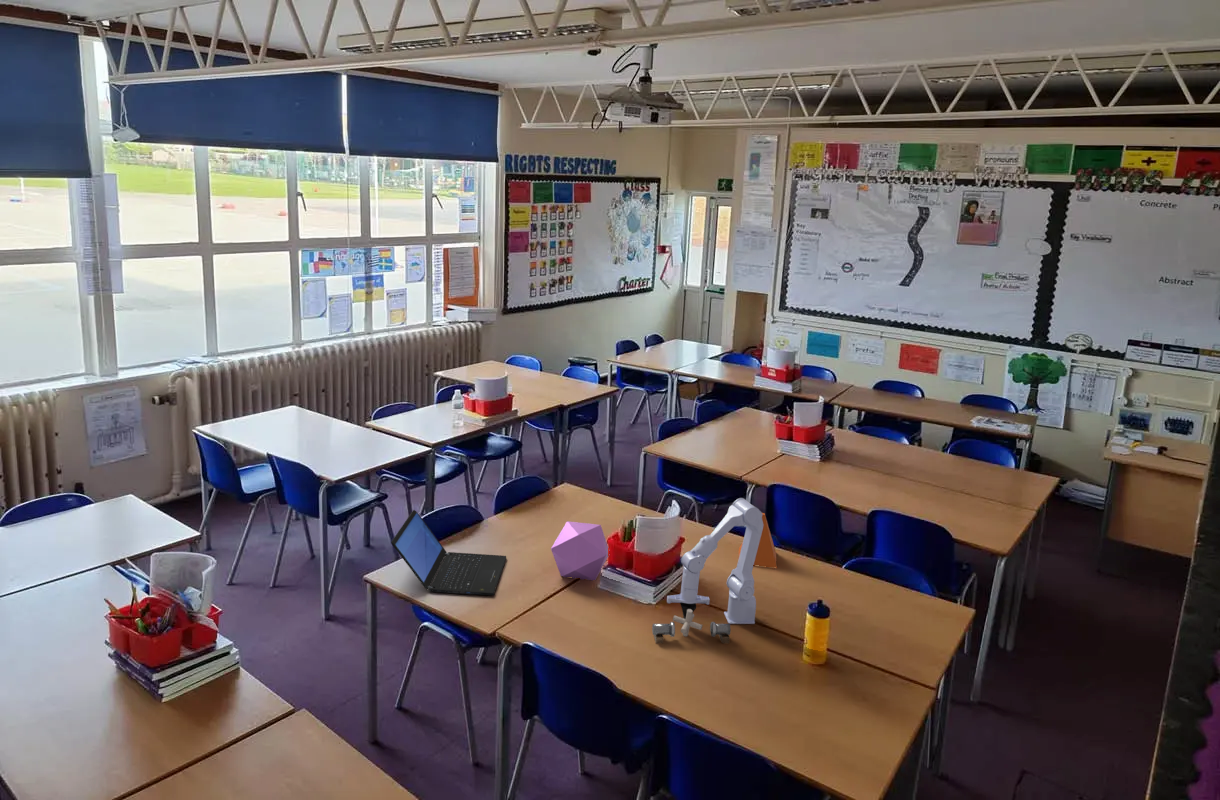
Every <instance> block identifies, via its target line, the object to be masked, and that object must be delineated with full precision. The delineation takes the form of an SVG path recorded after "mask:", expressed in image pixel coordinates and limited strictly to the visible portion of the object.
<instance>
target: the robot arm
mask: <svg viewBox="0 0 1220 800" xmlns="http://www.w3.org/2000/svg"><path fill="white" fill-rule="evenodd" d="M762 513H763V512H762V511H761V510H760V509H759V508H758V507H756V506H754V505H753V504H751V503H750V502H749V501H748V500H747V499H746V498H743V497H739V498H737V499H736V500H734V501H733V502H732V504H731V505H729V508H728V510H727V513H726V514H725V516H724V517H723V518H722V520H720V522H719V523H718V524H717V526H716V527H715V529H713V531H712V532H711V533H710V534H707V535H704V536H703V537H701V538H700V539H699V542H697V544H696V545H695V546H694V547H693V548H692V549H691V550H689V551H687V552H685V553H683V556H682V557H681V558H680V562H681V565H682V566H683V567H682V579H681V587H680V593H679V594H673V595H667V596H666V603H667V604H671V603H674V604H675V603H678V604H680V607H681V611H682V616H683V617H682V618H684V619H686V614H687V610H688V609H691V610H692V611H693V612H692V613H694V612H695V611H696V610H697V604H705V605H710V597H709V596H704V595H698V593H699V591H698V590H699V583H700V573H701V571H702V570H703V569H704V567H705V563H706V561H707V559H708V558H709V557H710V556H711V554H713V553H714V552H715V551H716V549H717V548H718V543H719V541H721V539H722V538H724V537H725V535H727V534H728V533H729V532H730V531H731V530H732V529H733V528H734V527H745V526H746V528H745V532H744V538H743V540H742V542H743V544H742V543H741V544H742V548H741V552H740V556H739V560H738V559H737V560H738V561H737V564H736V568H733V569H732V570H731V571H730V572H731V573H730V575H729V576H728V577H727V580H726V586H727V588H728V593H729V594H728V602H727V611H724V612H723V614H724V617H725V618H726V620H727V624H730V625H755V623H756V621H755V620H756V610H757V599H756V596H755V595H754V594H755V579H754V576H753V569H754V566H753V565H754V562H755V558H756V554H757V550H758V546H759V542H760V538H761V534H762V530H763V521H762V515H763V514H762Z"/></svg>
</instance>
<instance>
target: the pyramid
mask: <svg viewBox="0 0 1220 800" xmlns="http://www.w3.org/2000/svg"><path fill="white" fill-rule="evenodd" d="M761 513H762V514H763V515H762V521H763V530H762V534H761V538H760V542H759V546H758V550H757V554H756V558H755V562H754V565H759V566H766V567H776V568H777V569H778V566H776V561H777V551H776V548H775V545H774V541H773V538H772V534H771V531H770V528H769V523H768V520H767V517H766V513H765V512H761ZM742 544H743V541H742V543H741V544H740V546H739V547H738V555H739V556H740V552H741V548H742ZM737 560H739V557H737ZM766 567H765V568H766Z"/></svg>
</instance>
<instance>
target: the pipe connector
mask: <svg viewBox="0 0 1220 800" xmlns="http://www.w3.org/2000/svg"><path fill="white" fill-rule="evenodd" d="M692 612H693V611H692V610H691V609H688V610H687V614H686V619H684V618H683V617H681V616H677V615H673V618H672V622H677V623H678V624H679V623H680V624H682V627H681V629H680V633H681V634H682V636H683V637H688V636H689V633H690V628H694V629H697V630H699V631H702V629H703V626H704V625H703V624H700V623H699V622H695V621H693V620H694V618H695V614H694V612H693V613H692Z"/></svg>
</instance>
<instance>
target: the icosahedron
mask: <svg viewBox="0 0 1220 800" xmlns="http://www.w3.org/2000/svg"><path fill="white" fill-rule="evenodd" d="M606 539H607V538H606V537H605V534H604V531H603V528H602V524H595V523H588V522H587V523H586V522H577V521H568V520H567V521H566V522H565V524H564V526H563V528H562V529H561V531H560V533H559V534H558V536H557V538H556V539H555V541H554V542H553V545H552V546H551V547H550V550H551V553H552V556H553V558H554V561H555V563H556V567H557V569H558V572H559V574H560V577H561V576H563V577H562V578H567V577H572V578H571V579H575V578H580V579H579V580H584V579H587V580H586V581H593V580H595V581H596V579H597V578H598V576H599V574H600V573H601V571H602V569H601V568H603V567H604V565H605V564H606V561H607V559H608V558H609V556H608V548H609V545H608V542H607V540H606ZM602 566H603V567H602Z"/></svg>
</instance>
